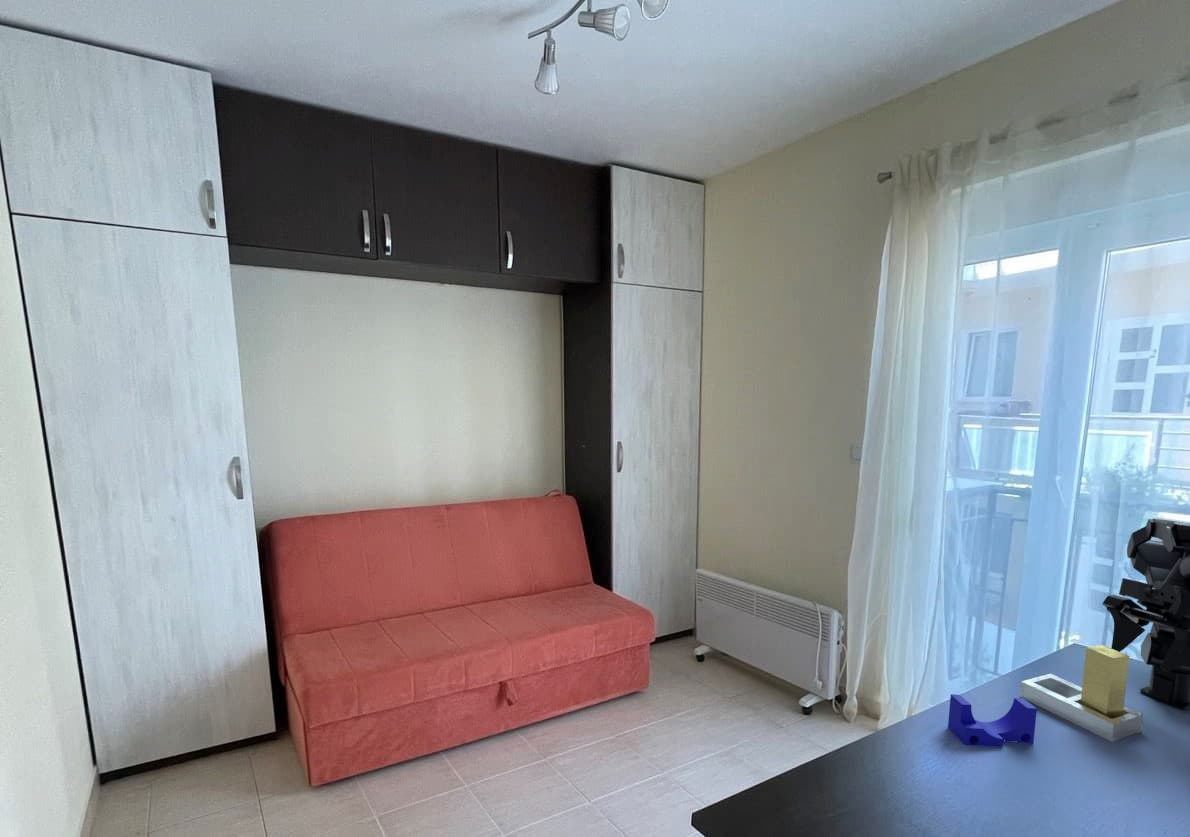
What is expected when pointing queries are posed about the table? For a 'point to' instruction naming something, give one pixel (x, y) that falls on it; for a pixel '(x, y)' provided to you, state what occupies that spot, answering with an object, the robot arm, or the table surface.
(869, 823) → the table surface
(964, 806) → the table surface
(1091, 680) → the brass peg
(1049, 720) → the table surface
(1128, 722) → the metal frame
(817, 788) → the table surface
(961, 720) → the cable clip
